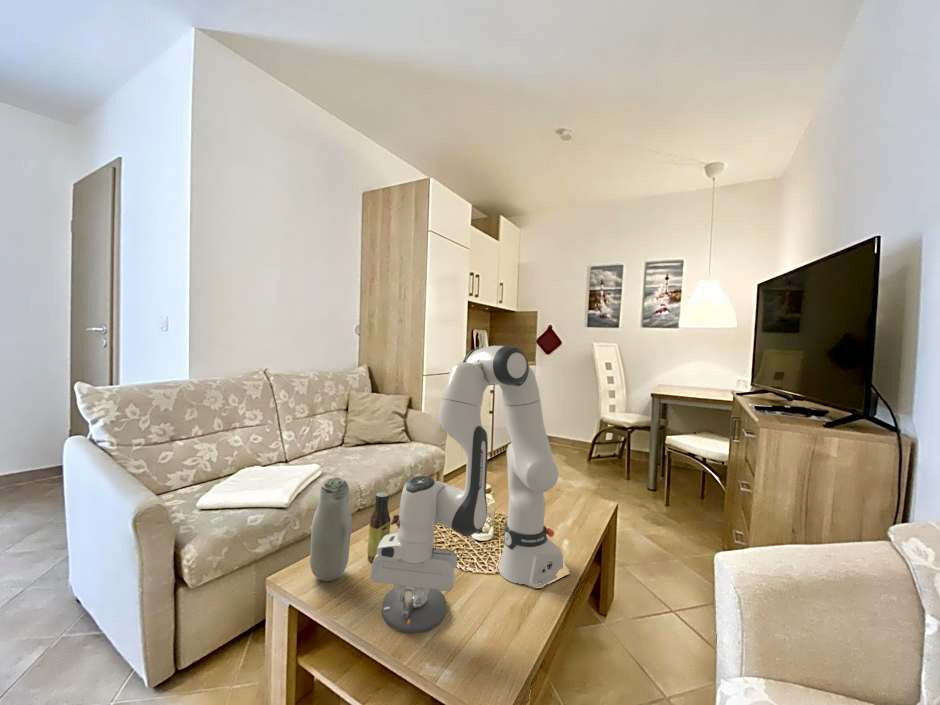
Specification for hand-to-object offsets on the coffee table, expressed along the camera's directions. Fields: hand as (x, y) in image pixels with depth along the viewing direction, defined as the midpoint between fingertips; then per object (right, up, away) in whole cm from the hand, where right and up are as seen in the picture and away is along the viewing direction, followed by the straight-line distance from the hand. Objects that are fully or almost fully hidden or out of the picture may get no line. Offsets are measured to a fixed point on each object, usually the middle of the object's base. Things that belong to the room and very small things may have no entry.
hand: (411, 601), depth 97 cm
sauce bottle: (-14, -3, +26) cm, 30 cm away
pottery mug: (-8, -3, +41) cm, 42 cm away
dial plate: (0, -5, +5) cm, 7 cm away
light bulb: (0, -3, +3) cm, 4 cm away
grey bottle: (-25, -3, +15) cm, 30 cm away
